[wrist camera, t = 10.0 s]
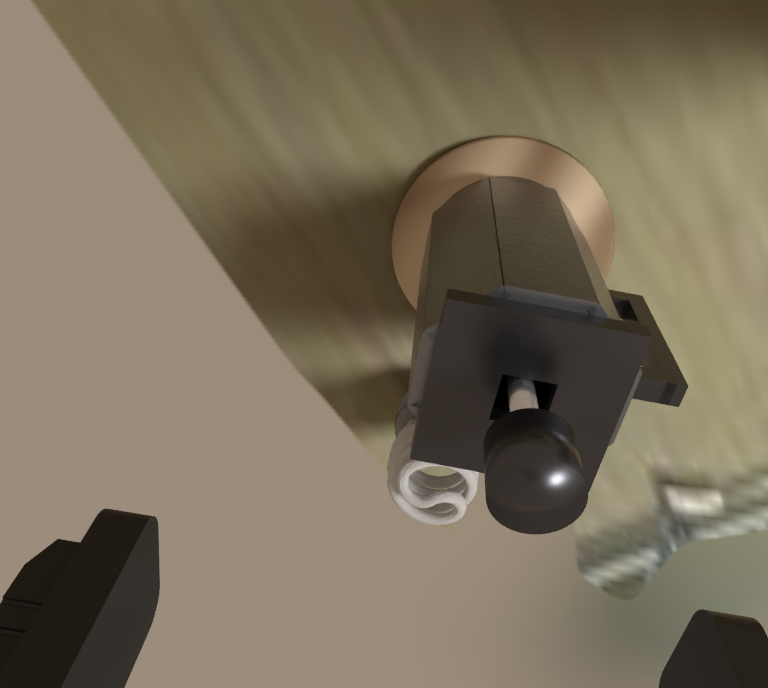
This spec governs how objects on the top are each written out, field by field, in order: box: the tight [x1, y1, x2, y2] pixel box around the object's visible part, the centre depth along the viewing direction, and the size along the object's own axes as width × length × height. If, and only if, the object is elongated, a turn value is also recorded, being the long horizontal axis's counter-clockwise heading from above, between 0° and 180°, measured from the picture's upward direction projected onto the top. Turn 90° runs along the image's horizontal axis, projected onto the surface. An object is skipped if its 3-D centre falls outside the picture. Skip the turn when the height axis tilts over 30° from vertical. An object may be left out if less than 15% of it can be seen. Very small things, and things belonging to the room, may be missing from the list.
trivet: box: [392, 136, 615, 311], centre depth 46 cm, size 14×14×1 cm
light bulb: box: [387, 391, 479, 525], centre depth 47 cm, size 6×6×12 cm
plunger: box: [483, 375, 588, 534], centre depth 34 cm, size 7×7×20 cm
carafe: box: [407, 176, 688, 492], centre depth 38 cm, size 13×10×17 cm
